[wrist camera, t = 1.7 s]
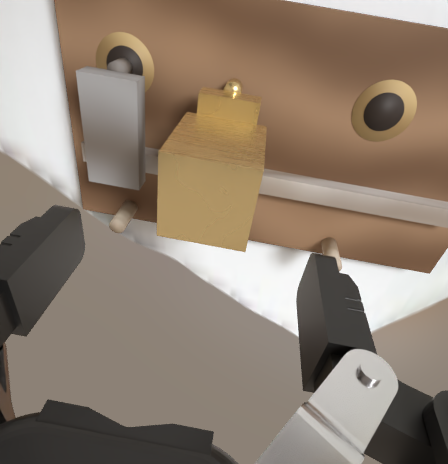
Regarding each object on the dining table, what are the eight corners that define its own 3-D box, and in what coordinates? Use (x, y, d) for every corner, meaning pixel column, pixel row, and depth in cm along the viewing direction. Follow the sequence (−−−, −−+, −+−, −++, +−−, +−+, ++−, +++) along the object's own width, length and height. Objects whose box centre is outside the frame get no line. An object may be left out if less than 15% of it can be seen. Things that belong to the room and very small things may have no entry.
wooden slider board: (64, -38, 17) (15, -44, 14) (561, 47, 16) (630, 62, 13) (92, 198, 25) (65, 229, 22) (422, 259, 25) (443, 300, 22)
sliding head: (197, 71, 17) (159, 112, 12) (273, 85, 17) (272, 133, 12) (188, 181, 21) (156, 252, 16) (250, 192, 21) (241, 268, 15)
